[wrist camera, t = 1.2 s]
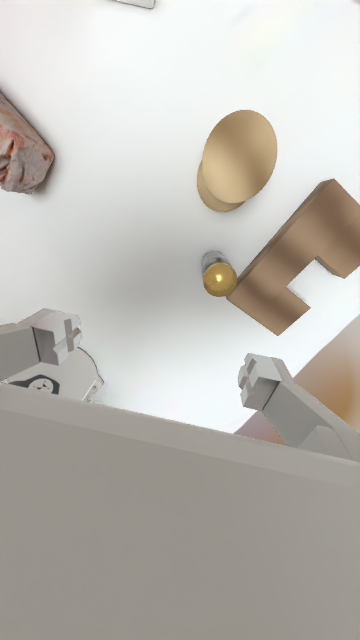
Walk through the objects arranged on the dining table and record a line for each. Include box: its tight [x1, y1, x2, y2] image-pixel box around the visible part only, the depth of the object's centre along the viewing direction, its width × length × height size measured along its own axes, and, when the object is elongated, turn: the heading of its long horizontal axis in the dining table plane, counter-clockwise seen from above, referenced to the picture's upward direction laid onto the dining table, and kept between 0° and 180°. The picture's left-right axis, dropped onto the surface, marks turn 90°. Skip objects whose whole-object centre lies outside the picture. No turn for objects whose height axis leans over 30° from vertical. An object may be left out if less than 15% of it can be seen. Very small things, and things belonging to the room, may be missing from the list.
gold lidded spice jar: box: [202, 251, 237, 297], centre depth 28 cm, size 4×4×11 cm
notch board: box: [225, 179, 360, 336], centre depth 31 cm, size 20×12×3 cm, turn 146°
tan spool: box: [197, 110, 277, 212], centre depth 23 cm, size 8×8×10 cm
